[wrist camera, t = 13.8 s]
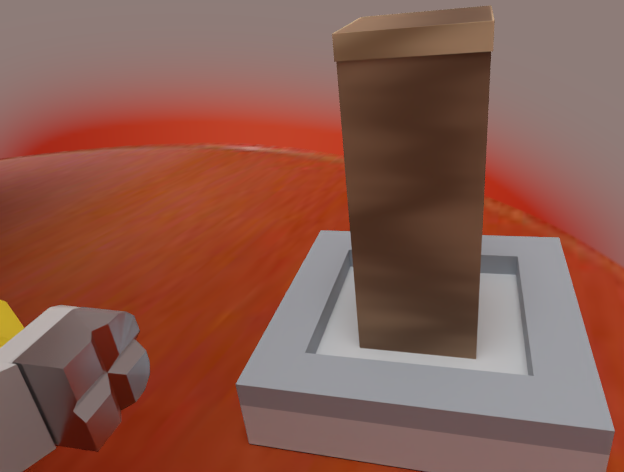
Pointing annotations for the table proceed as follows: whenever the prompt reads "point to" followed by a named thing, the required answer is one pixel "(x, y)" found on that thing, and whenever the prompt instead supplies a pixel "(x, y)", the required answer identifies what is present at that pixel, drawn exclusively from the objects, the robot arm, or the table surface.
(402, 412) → the plinth base
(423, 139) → the column block
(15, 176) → the table surface
